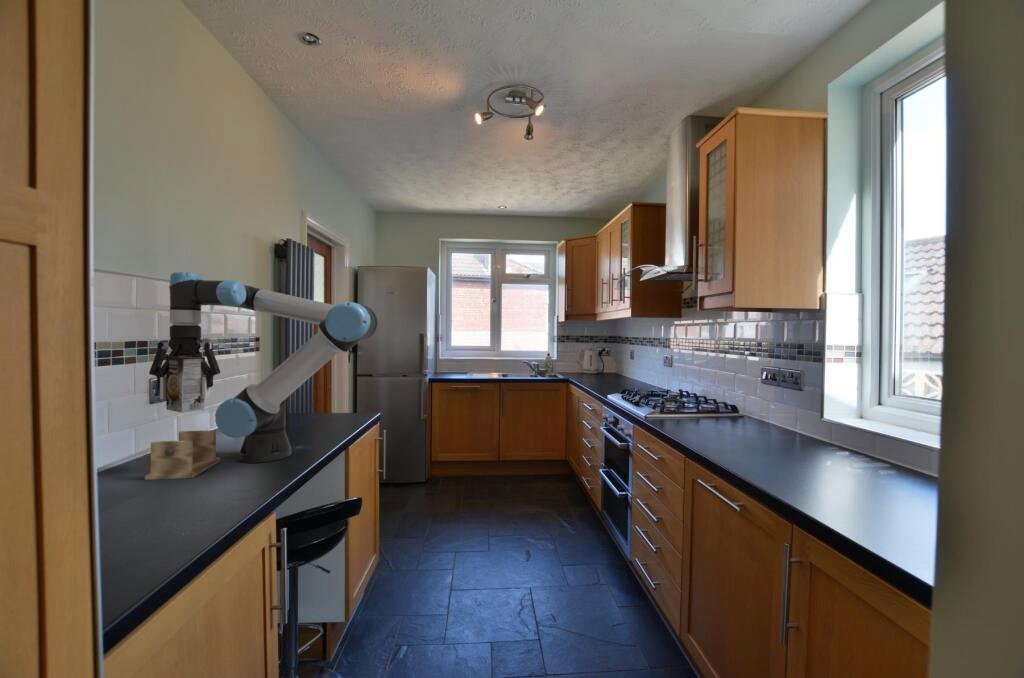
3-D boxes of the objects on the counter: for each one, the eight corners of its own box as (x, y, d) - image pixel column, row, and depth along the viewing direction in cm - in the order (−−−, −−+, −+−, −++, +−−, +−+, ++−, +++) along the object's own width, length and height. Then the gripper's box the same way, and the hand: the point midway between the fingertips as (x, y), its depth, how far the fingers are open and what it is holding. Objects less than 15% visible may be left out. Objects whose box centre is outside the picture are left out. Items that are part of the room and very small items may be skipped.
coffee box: (165, 410, 129) (165, 356, 129) (189, 406, 135) (189, 355, 135) (181, 413, 125) (181, 357, 125) (205, 409, 131) (205, 356, 130)
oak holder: (220, 461, 139) (220, 429, 139) (191, 478, 123) (192, 442, 123) (179, 462, 137) (179, 430, 137) (144, 479, 121) (144, 443, 121)
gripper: (233, 325, 135) (233, 396, 136) (150, 324, 131) (150, 397, 132) (221, 325, 128) (221, 399, 128) (133, 323, 124) (133, 401, 124)
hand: (185, 398), depth 130 cm, fingers closed on coffee box, 11 cm apart
